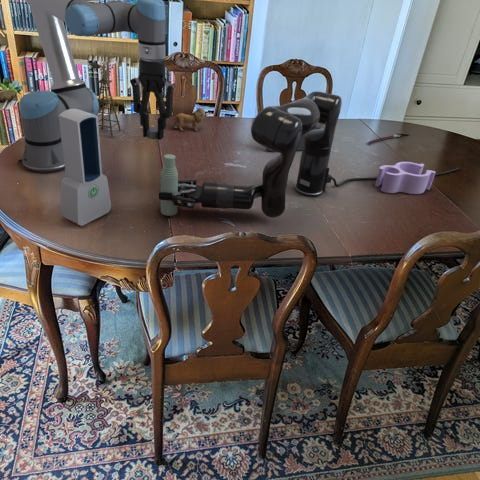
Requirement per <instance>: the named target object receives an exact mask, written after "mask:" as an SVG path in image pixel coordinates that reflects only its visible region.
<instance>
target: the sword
mask: <svg viewBox="0 0 480 480" xmlns="http://www.w3.org/2000/svg"><path fill="white" fill-rule="evenodd" d="M401 134H402V133H396V134H392V135H389V136H383V137H379V138H376V139H372V140H370V141H368V143H367V144H368V145H372V144H373V143H377V142H381V141H384V140H389V139H393V138H400V137H402V136H406V135H409V134H404V135H401Z"/></svg>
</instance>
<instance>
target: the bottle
mask: <svg viewBox="0 0 480 480" xmlns="http://www.w3.org/2000/svg"><path fill="white" fill-rule="evenodd" d="M178 181H179V172H178V169H177V166H176V155H174V154H170V153H166V154H164V156H163V165H162V169H161V171H160V192H168V193H178ZM173 204H174V203H173V202H172V201H169V200H160V213H161V214H162V215H163V216H167V217H168V216H169V217H170V216H175V215H176V214H178V207H179V206H175V205H173Z"/></svg>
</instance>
